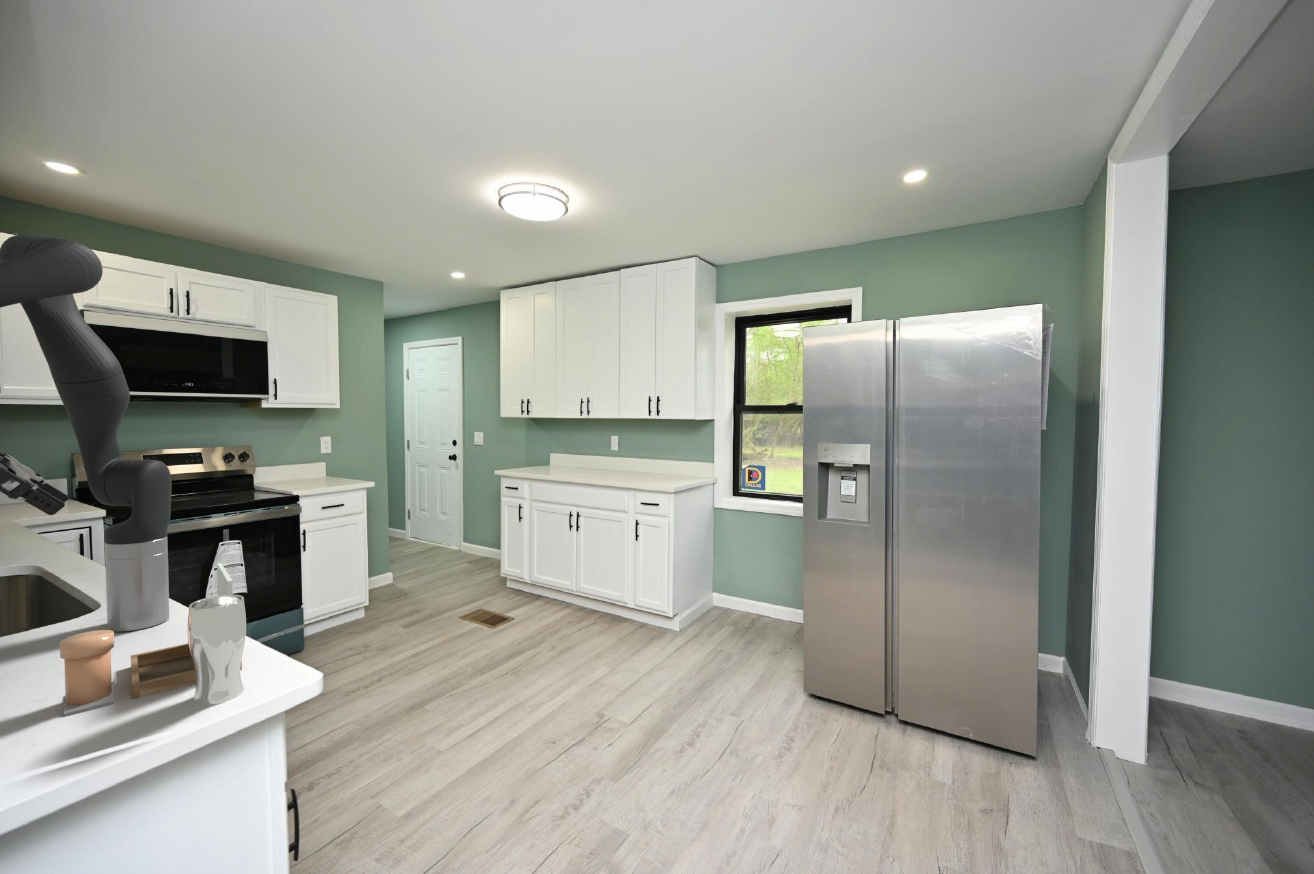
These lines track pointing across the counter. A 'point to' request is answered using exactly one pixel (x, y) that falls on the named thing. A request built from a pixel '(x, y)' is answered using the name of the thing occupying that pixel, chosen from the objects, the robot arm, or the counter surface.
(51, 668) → the counter surface
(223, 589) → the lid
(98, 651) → the peach mushroom shaped stopper
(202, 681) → the beer glass
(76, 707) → the tile
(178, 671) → the open wooden box
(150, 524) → the robot arm
